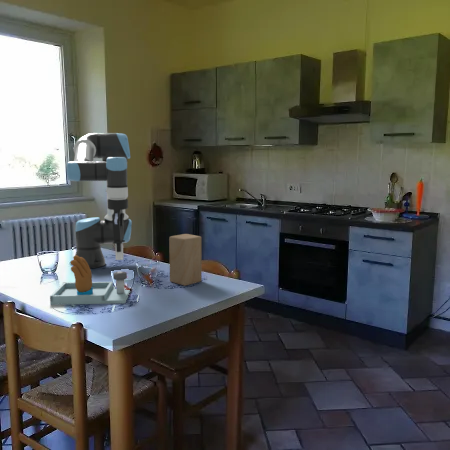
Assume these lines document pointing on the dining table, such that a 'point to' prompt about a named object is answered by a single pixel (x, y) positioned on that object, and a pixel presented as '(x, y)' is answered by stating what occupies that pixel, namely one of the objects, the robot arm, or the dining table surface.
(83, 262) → the toy
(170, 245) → the wooden block
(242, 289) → the dining table surface
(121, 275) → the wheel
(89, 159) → the robot arm
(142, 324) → the dining table surface
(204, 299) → the dining table surface
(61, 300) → the tray
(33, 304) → the dining table surface
